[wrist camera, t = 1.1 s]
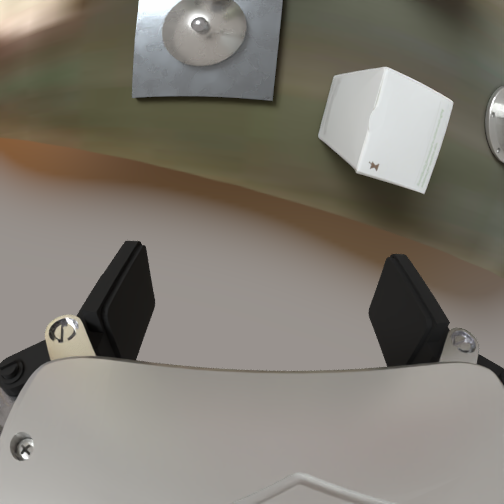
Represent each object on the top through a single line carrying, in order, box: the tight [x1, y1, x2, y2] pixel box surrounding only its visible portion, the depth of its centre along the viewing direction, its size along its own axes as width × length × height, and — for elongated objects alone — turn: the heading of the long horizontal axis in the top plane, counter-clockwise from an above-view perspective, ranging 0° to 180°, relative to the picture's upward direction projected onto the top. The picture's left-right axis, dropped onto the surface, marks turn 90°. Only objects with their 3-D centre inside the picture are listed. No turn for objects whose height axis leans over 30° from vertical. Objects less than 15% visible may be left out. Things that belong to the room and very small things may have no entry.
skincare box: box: [318, 67, 453, 194], centre depth 24 cm, size 8×7×16 cm
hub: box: [132, 0, 283, 101], centre depth 24 cm, size 16×16×4 cm
